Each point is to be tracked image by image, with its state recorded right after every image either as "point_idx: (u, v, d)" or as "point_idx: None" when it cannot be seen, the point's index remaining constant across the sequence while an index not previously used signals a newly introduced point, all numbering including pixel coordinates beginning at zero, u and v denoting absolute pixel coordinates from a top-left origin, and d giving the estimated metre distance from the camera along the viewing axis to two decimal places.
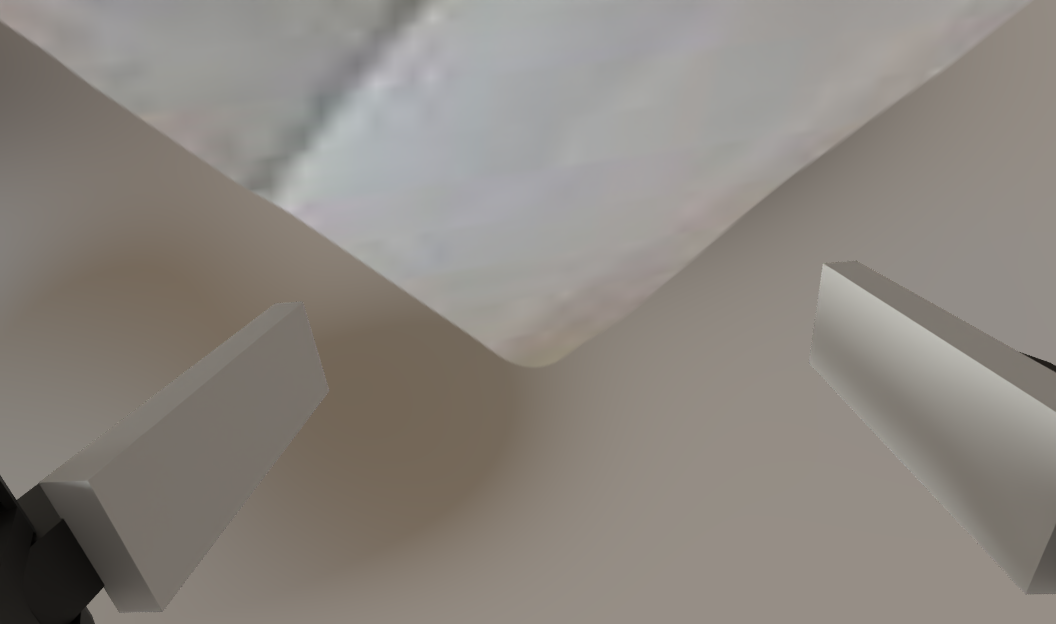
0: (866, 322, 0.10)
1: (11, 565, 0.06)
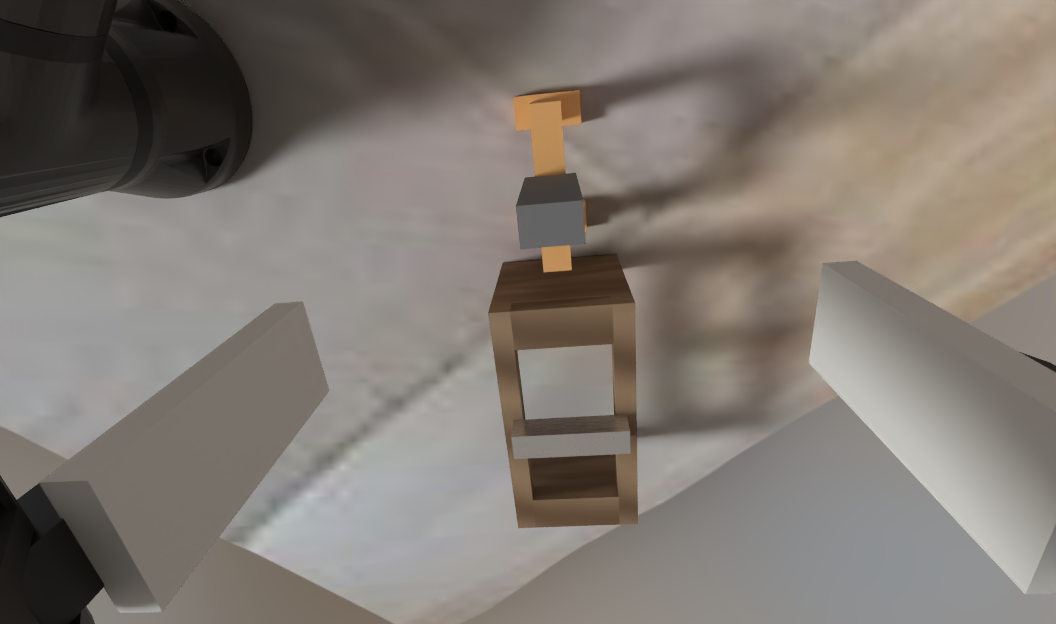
0: (866, 322, 0.10)
1: (11, 565, 0.06)
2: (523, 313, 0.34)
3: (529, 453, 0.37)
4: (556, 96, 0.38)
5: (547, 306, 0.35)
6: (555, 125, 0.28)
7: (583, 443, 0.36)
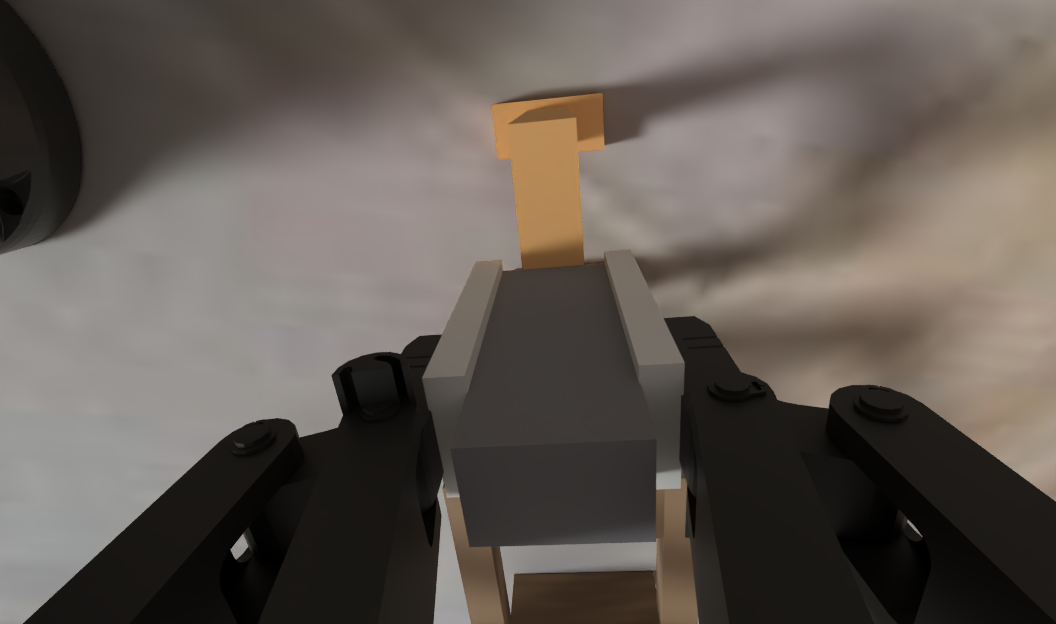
0: None
1: (412, 455, 0.07)
2: None
3: None
4: (563, 104, 0.23)
5: None
6: (564, 169, 0.13)
7: None
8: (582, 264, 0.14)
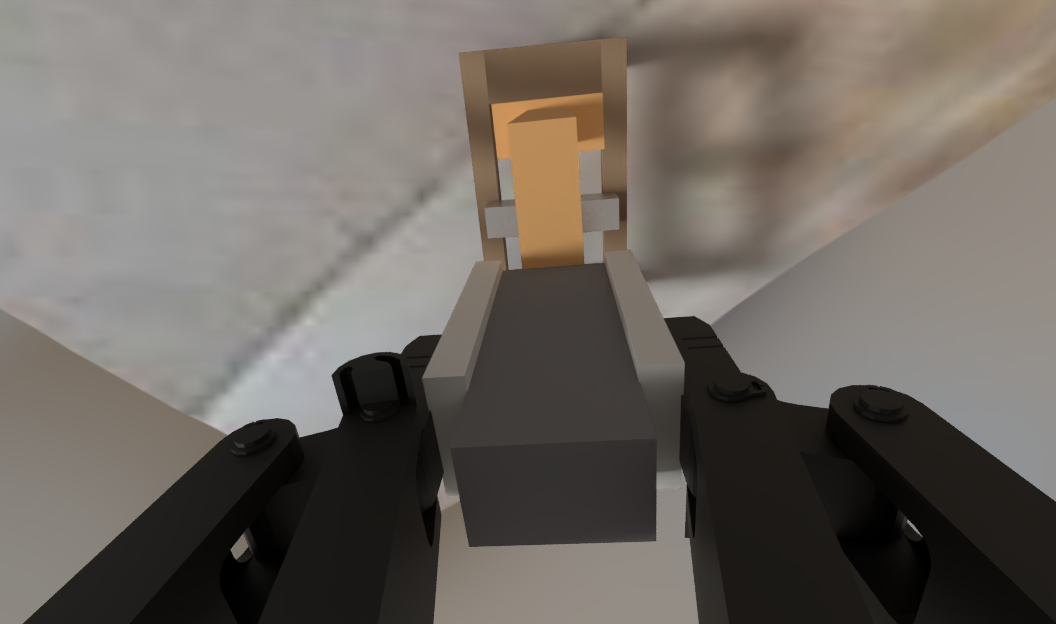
0: None
1: (412, 455, 0.07)
2: (498, 53, 0.30)
3: (505, 230, 0.32)
4: (563, 103, 0.22)
5: (527, 46, 0.30)
6: (564, 168, 0.13)
7: None
8: (582, 263, 0.14)
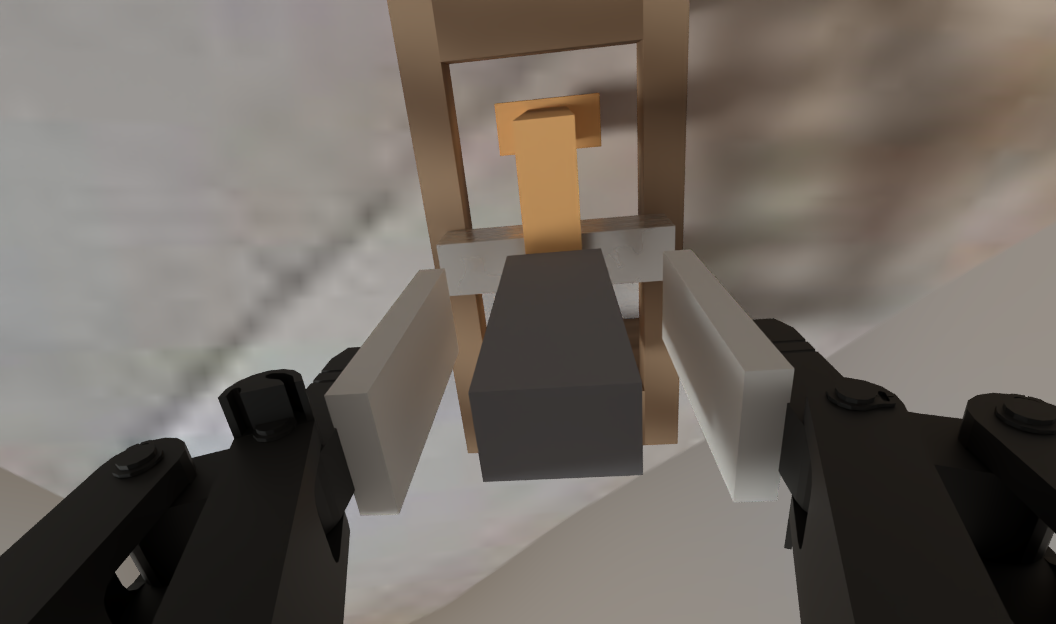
0: (679, 299, 0.12)
1: (309, 471, 0.07)
2: None
3: (474, 282, 0.19)
4: (562, 103, 0.24)
5: None
6: (563, 161, 0.15)
7: None
8: (580, 249, 0.16)
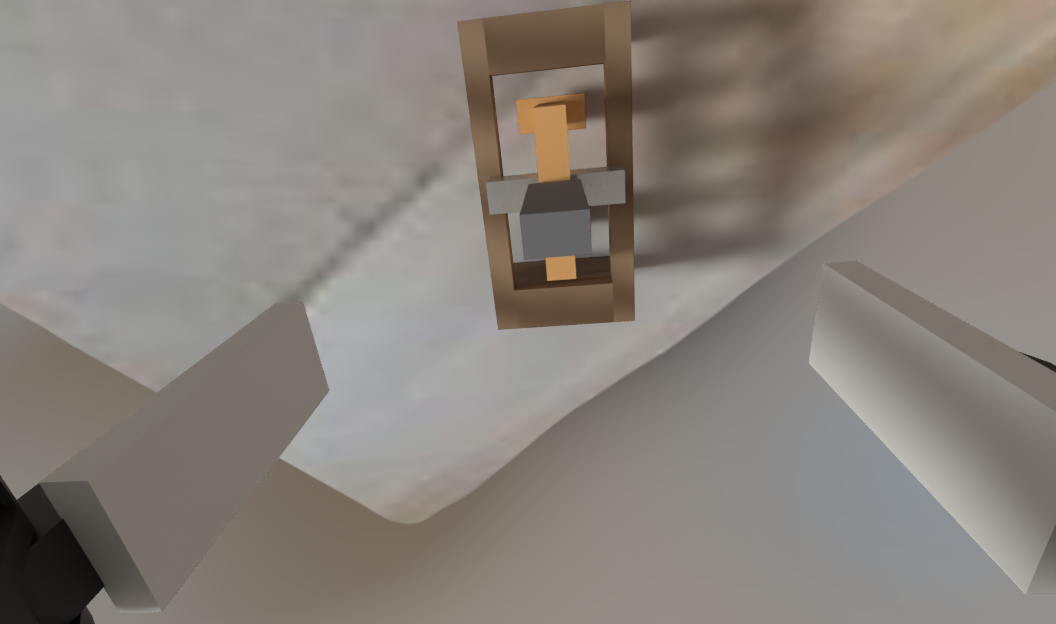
0: (866, 322, 0.10)
1: (11, 565, 0.06)
2: (498, 20, 0.29)
3: (507, 205, 0.31)
4: (560, 99, 0.37)
5: (527, 14, 0.29)
6: (560, 130, 0.28)
7: None
8: (569, 179, 0.29)
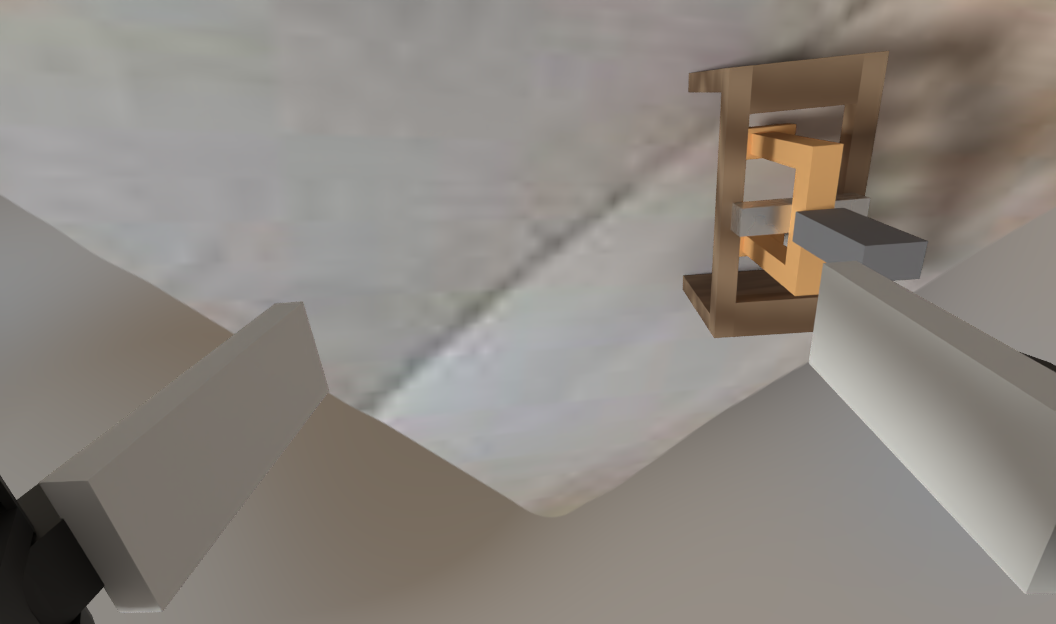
0: (866, 322, 0.10)
1: (11, 565, 0.06)
2: (767, 67, 0.33)
3: (757, 229, 0.35)
4: (773, 130, 0.40)
5: (791, 61, 0.33)
6: (834, 165, 0.31)
7: None
8: (833, 208, 0.32)
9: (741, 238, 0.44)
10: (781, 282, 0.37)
